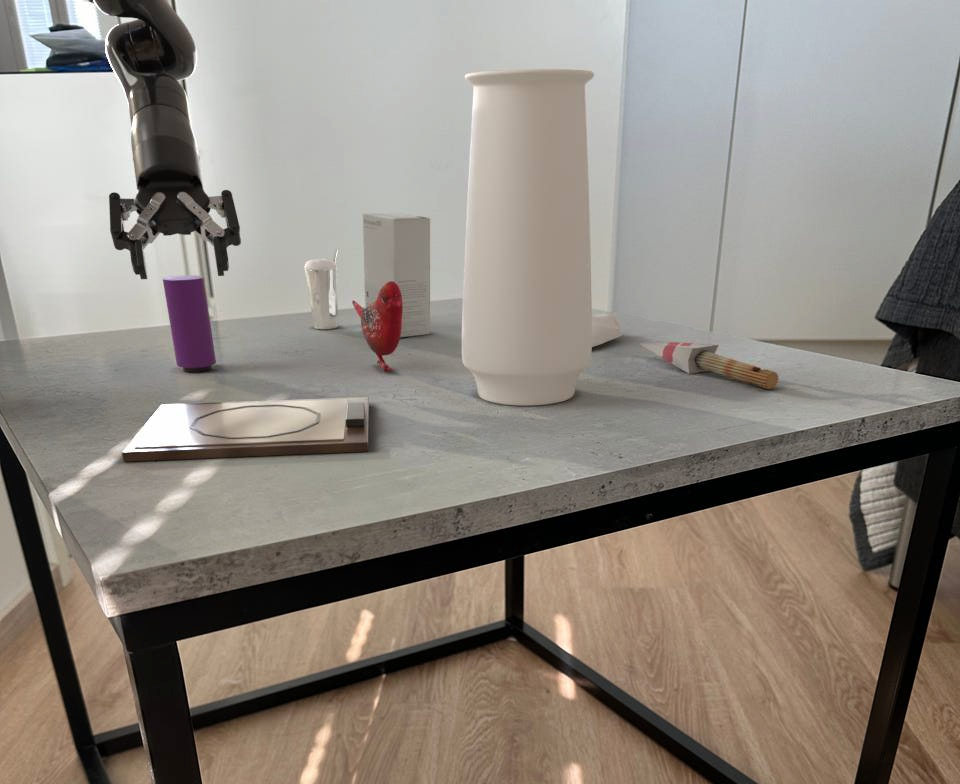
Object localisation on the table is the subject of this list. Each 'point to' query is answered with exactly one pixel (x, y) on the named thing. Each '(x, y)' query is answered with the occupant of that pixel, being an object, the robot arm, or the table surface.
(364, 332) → the decorative bird figurine
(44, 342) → the table surface
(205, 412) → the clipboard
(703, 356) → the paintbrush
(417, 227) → the cosmetic box
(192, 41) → the robot arm
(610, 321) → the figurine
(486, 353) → the vase
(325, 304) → the milkshake
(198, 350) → the dot marker
